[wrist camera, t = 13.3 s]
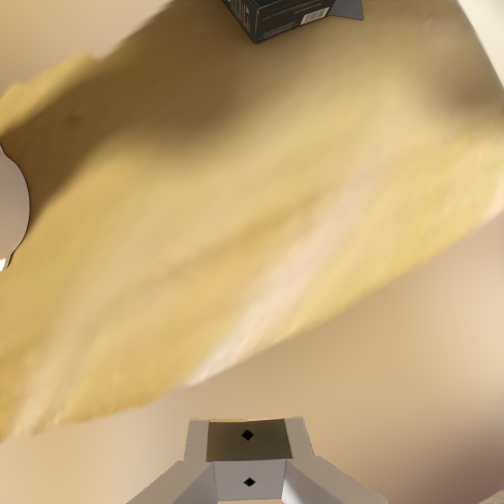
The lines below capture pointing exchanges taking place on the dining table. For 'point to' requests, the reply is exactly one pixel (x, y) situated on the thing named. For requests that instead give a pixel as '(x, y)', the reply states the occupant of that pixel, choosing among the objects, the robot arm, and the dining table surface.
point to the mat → (347, 9)
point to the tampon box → (276, 15)
